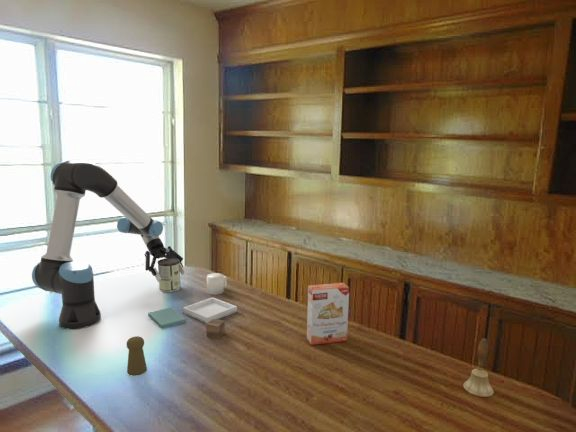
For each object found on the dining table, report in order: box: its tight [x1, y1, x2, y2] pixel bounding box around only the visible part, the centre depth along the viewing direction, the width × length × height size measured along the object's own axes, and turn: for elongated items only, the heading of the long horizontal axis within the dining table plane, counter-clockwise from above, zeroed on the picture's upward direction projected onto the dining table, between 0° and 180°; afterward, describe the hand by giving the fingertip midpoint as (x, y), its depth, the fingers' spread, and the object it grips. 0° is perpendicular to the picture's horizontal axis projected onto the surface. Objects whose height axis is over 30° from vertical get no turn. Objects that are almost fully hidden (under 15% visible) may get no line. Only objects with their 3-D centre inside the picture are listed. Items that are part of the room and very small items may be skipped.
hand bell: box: [462, 337, 494, 398], centre depth 126 cm, size 8×8×16 cm
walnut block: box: [205, 319, 226, 339], centre depth 161 cm, size 5×5×5 cm
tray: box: [182, 296, 238, 324], centre depth 182 cm, size 16×16×2 cm
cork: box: [126, 335, 148, 377], centre depth 135 cm, size 6×6×11 cm
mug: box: [206, 272, 228, 296], centre depth 207 cm, size 10×8×8 cm
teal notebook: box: [147, 307, 187, 330], centre depth 175 cm, size 10×15×2 cm, turn 37°
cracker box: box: [306, 282, 350, 346], centre depth 156 cm, size 14×6×21 cm, turn 105°
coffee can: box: [157, 258, 181, 293], centre depth 210 cm, size 10×10×14 cm
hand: (172, 277), depth 208 cm, fingers open, 13 cm apart
